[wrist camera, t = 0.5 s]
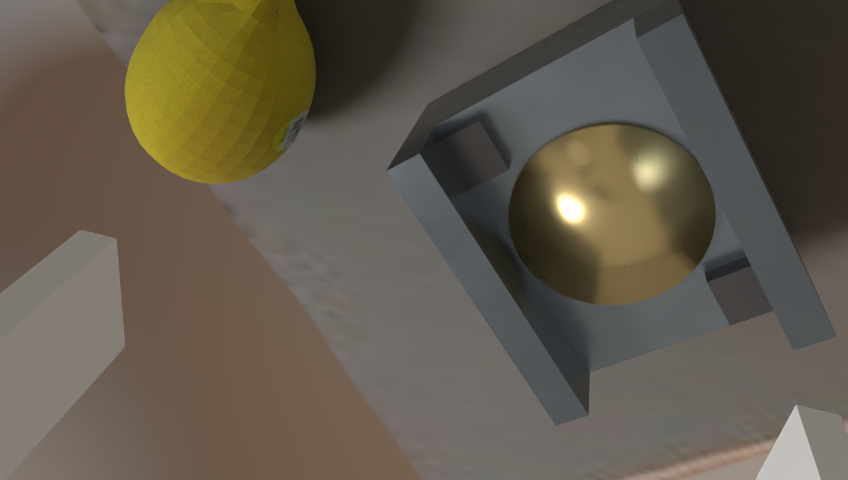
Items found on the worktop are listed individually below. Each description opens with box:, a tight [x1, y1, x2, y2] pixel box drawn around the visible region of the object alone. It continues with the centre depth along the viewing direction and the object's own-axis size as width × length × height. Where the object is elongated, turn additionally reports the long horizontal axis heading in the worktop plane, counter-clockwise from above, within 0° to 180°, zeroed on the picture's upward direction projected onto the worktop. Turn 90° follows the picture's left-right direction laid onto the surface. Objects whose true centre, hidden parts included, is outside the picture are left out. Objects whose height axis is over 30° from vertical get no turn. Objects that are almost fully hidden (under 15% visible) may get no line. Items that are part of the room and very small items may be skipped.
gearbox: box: [386, 0, 837, 425], centre depth 32 cm, size 14×12×8 cm
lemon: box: [125, 0, 316, 184], centre depth 33 cm, size 11×8×8 cm
